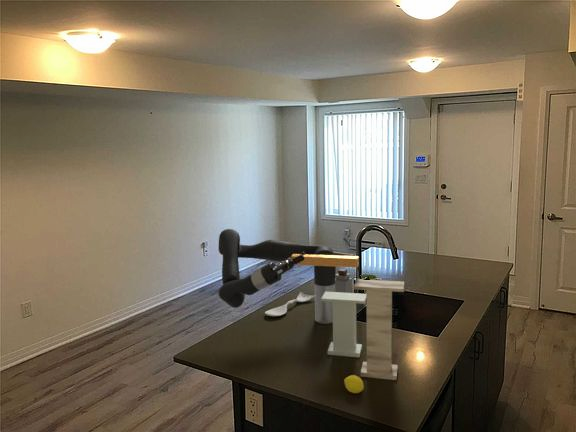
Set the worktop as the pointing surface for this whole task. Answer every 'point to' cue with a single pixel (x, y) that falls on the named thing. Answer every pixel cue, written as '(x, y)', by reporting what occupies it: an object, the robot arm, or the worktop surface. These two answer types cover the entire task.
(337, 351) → the white i-beam column
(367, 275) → the plant pot
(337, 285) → the perfume bottle
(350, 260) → the wooden block
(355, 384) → the lemon
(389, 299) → the tall pedestal
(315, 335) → the worktop surface
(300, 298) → the spoon
